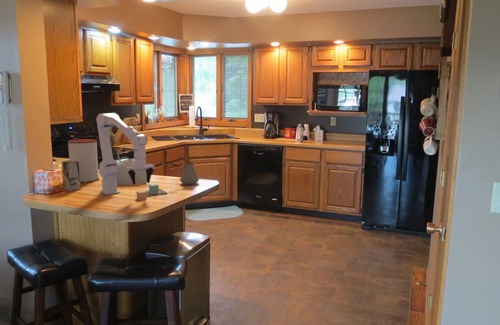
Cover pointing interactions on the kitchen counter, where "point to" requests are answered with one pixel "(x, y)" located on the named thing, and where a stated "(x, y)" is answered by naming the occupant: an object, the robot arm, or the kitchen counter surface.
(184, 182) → the coffee pot
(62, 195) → the kitchen counter surface
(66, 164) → the coffee box
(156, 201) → the kitchen counter surface
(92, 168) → the container
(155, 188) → the base block
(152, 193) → the grey flat square plate
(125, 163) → the kettle
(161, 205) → the kitchen counter surface
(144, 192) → the top block
